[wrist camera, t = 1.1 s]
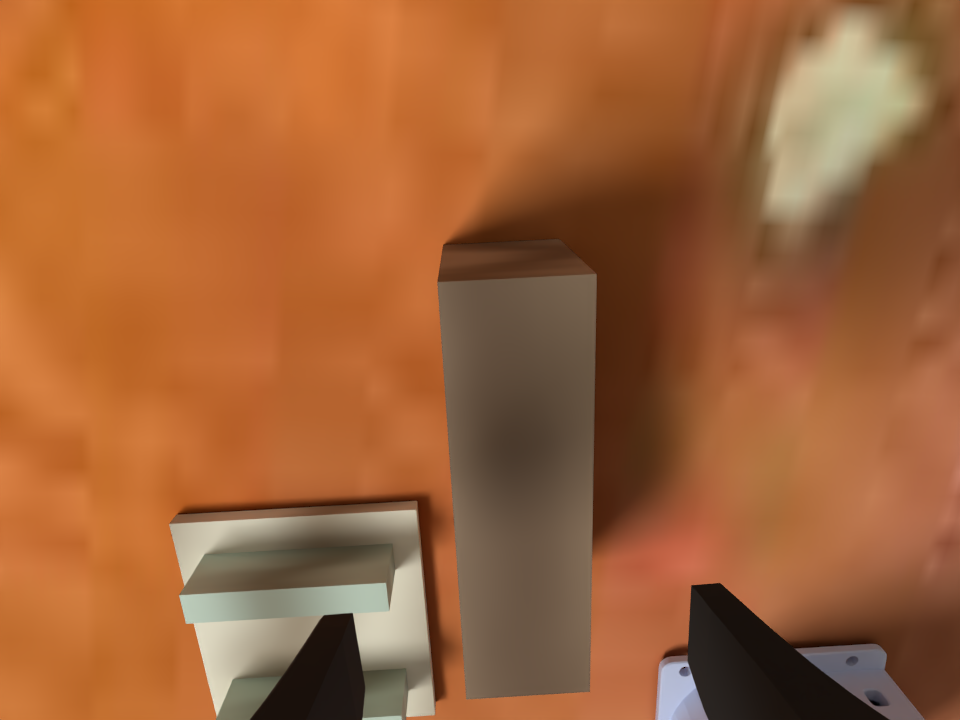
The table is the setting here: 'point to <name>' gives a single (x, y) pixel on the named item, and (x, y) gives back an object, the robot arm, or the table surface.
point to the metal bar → (521, 460)
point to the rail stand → (307, 599)
